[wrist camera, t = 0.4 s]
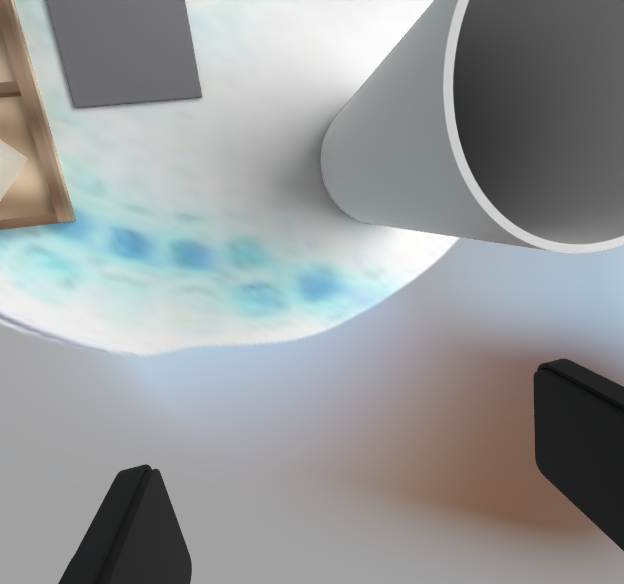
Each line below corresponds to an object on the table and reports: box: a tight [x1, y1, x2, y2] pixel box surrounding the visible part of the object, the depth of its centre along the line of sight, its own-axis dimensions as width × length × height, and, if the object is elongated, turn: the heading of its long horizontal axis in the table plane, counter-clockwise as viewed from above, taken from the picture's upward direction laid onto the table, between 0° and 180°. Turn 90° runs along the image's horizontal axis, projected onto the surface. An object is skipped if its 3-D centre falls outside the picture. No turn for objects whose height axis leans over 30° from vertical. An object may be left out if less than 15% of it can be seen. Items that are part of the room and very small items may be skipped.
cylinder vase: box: [321, 0, 624, 253], centre depth 25 cm, size 12×12×25 cm
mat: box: [47, 0, 202, 108], centre depth 31 cm, size 11×11×1 cm
